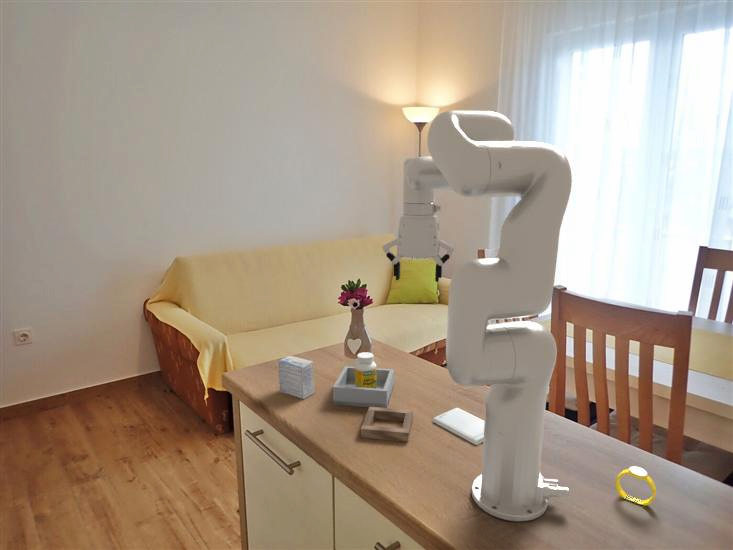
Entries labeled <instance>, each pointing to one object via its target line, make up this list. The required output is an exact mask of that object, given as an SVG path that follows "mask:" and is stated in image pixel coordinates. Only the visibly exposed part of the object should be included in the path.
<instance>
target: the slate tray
mask: <svg viewBox="0 0 733 550" xmlns="http://www.w3.org/2000/svg"><path fill="white" fill-rule="evenodd" d="M394 386H395V369H393V368H381V367H380V368H379V367H376V388H364V387H355V366H349V365H344V367H343V369H342V370H341V372H340V374H339V375H338V377H337V379H336V381H335V382H334V384H333V386H332V404H333V405H335V404H338V405H337V406H345V407H346V406H349V407H360V408H369V407H379V408H389V403H390V400H391V397H392V393H393V390H394Z"/></svg>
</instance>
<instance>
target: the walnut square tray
mask: <svg viewBox="0 0 733 550" xmlns="http://www.w3.org/2000/svg"><path fill="white" fill-rule="evenodd" d="M375 419H378V420H388V421H389V420H390V421H399V422H400V421H401V422H403V423H402V427H401V428H399V427H387V426H378V425H377V426H376V425H374V422H375ZM413 420H414V410H411V409H399V408H389V407H387V408H379V407H368V410H367V411H366V415H365V417H364V420H363V423H362V425H361V427H360V437H361V438H365V439H377V440H385V441H386V440H388V441H396V442H409V440H410V435H411V432H412V431H411V430H412V427H413V426H412V424H413Z"/></svg>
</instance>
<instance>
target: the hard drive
mask: <svg viewBox="0 0 733 550" xmlns="http://www.w3.org/2000/svg"><path fill="white" fill-rule="evenodd" d="M432 422H433V423H435V424H436V425H438V426H440V427H442V428H444V429H446V430H447V431H449V432H451V433H453V434H455V435H457V436H458V437H460V438H462V439H464V440H466V441H468V442H470V444H471V443H472V444H473V445H475V446H478V445H480V444H481V443H483V441H484V422H485V419H484V420H483V419H482V418H479V417H477V416H476V415H473V414H471V413H470V412H468V411H465V410H463V409H461V408H459V407H455V408H452V409H450V410H448V411H445V412H443V413H441V414H439V415H437V416H435V417H433V420H432Z"/></svg>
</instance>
